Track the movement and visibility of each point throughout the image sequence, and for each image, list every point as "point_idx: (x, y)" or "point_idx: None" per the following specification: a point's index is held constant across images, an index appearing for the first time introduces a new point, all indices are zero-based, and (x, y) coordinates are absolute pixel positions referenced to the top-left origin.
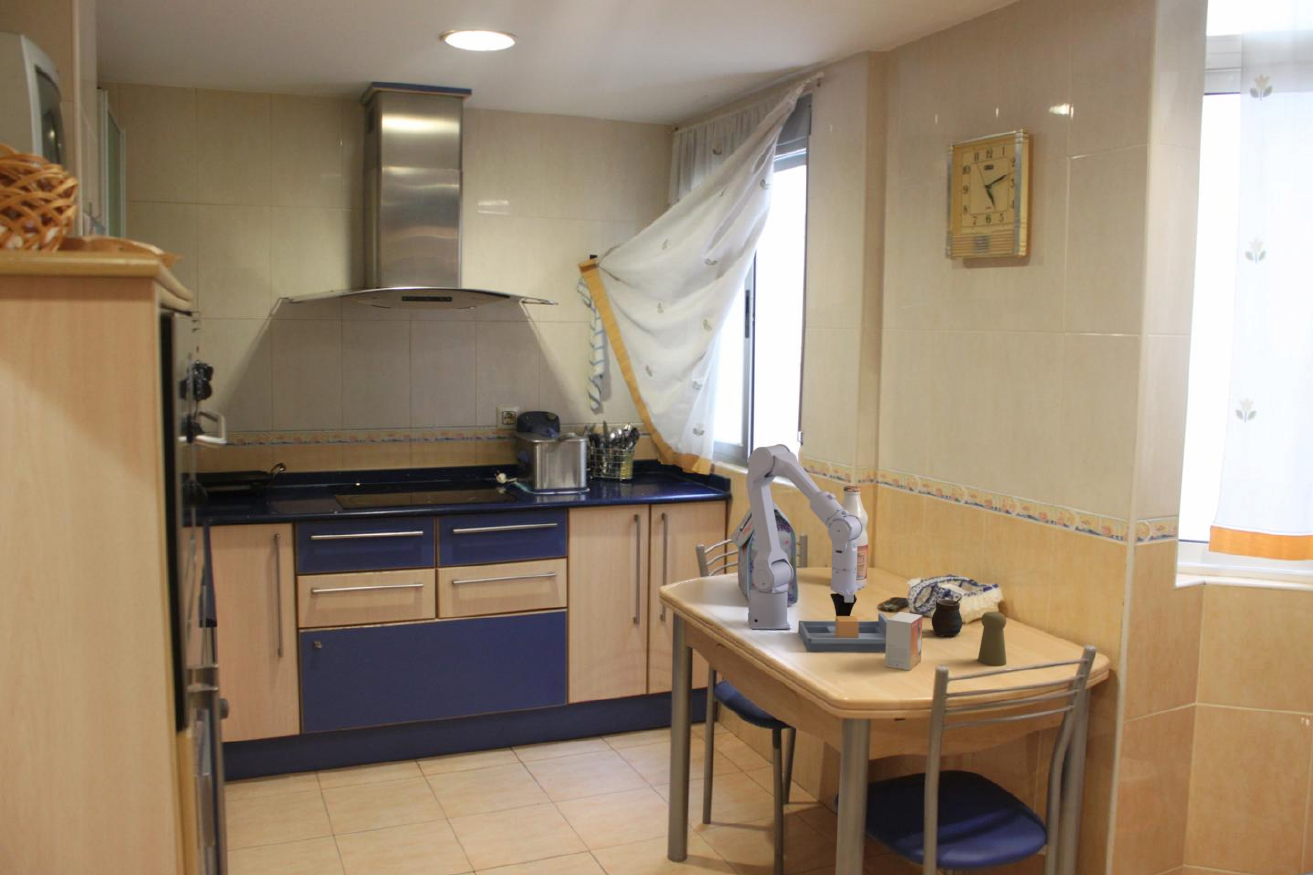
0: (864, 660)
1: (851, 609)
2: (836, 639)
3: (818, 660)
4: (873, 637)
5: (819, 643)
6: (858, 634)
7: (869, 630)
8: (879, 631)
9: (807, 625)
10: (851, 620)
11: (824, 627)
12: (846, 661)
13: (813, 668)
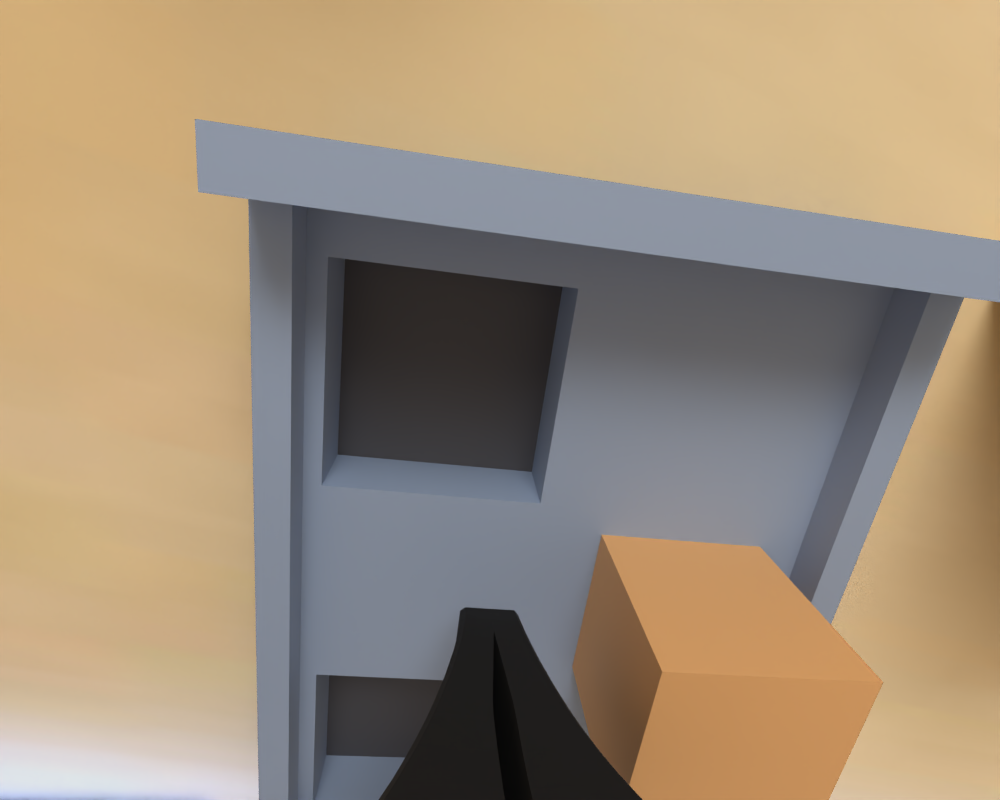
0: (951, 532)
1: (600, 755)
2: None
3: (850, 756)
4: (700, 398)
5: None
6: (791, 582)
7: (337, 309)
8: (517, 272)
9: (297, 788)
10: (818, 738)
11: (319, 680)
12: (924, 633)
13: (958, 795)
